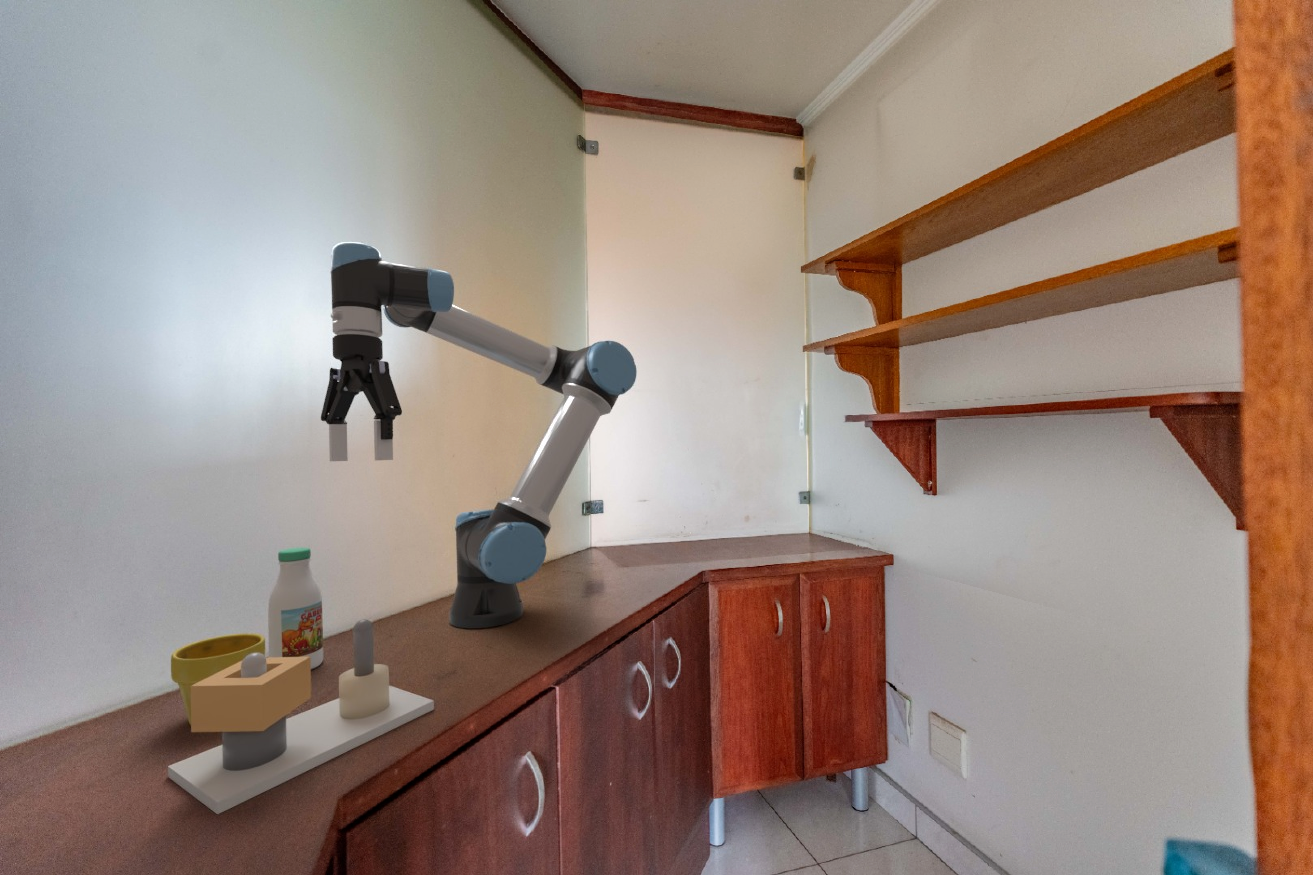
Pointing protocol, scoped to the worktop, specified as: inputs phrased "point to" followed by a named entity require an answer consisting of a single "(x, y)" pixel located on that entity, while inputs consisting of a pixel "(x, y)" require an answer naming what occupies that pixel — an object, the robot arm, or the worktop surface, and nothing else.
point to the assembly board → (300, 732)
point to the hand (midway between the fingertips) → (360, 460)
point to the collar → (250, 696)
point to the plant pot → (210, 660)
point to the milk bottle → (296, 609)
